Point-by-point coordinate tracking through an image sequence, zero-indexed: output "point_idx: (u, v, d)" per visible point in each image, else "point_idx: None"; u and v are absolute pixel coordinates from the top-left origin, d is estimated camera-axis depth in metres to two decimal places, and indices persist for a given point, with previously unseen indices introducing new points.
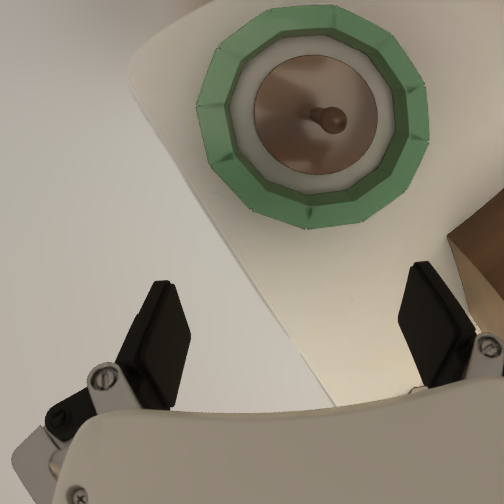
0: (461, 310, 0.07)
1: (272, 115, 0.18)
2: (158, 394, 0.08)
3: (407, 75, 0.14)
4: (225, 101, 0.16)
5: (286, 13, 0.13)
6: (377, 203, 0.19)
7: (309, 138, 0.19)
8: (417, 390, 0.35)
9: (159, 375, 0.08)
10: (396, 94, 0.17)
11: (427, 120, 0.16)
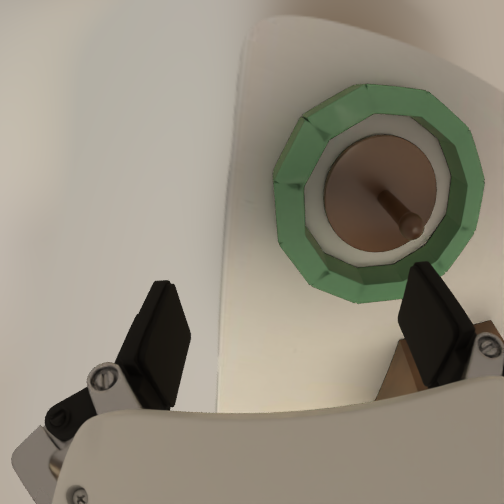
0: (461, 310, 0.07)
1: (352, 172, 0.18)
2: (158, 394, 0.08)
3: (470, 217, 0.17)
4: (333, 136, 0.15)
5: (435, 106, 0.13)
6: (378, 296, 0.21)
7: (364, 211, 0.19)
8: None
9: (159, 375, 0.08)
10: (447, 221, 0.19)
11: (456, 257, 0.19)
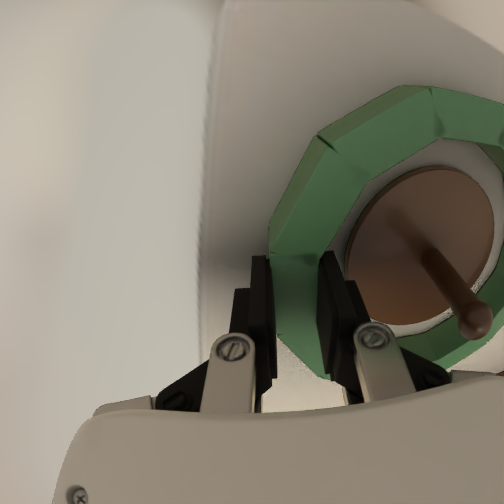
0: (347, 297, 0.08)
1: (390, 225, 0.11)
2: (270, 364, 0.09)
3: None
4: (374, 176, 0.09)
5: None
6: None
7: (400, 277, 0.13)
8: None
9: None
10: (498, 279, 0.12)
11: (502, 324, 0.12)
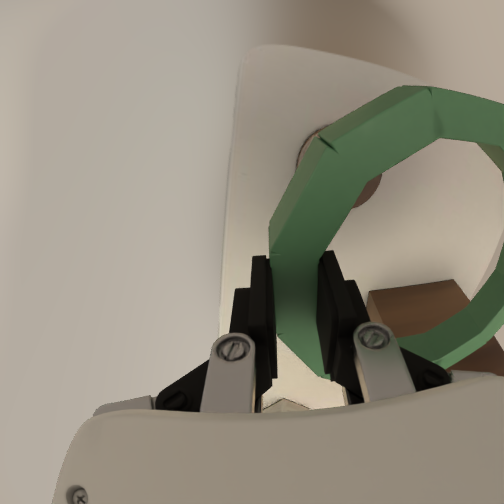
0: (347, 297, 0.08)
1: None
2: (270, 364, 0.09)
3: None
4: (374, 176, 0.09)
5: None
6: None
7: None
8: (286, 402, 0.48)
9: None
10: (497, 279, 0.13)
11: (502, 324, 0.12)
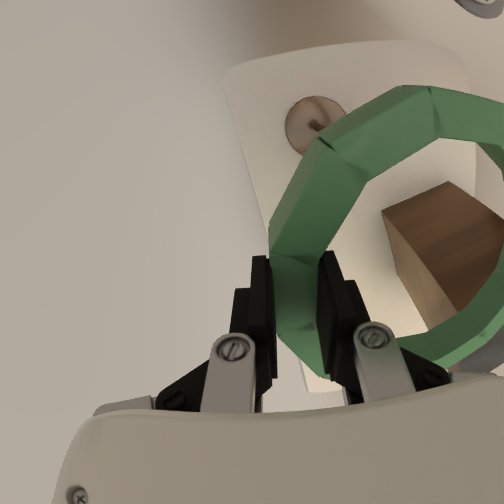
0: (347, 297, 0.08)
1: (295, 123, 0.36)
2: (270, 364, 0.09)
3: None
4: (374, 176, 0.09)
5: None
6: None
7: (311, 138, 0.37)
8: None
9: None
10: (498, 278, 0.12)
11: (503, 323, 0.12)
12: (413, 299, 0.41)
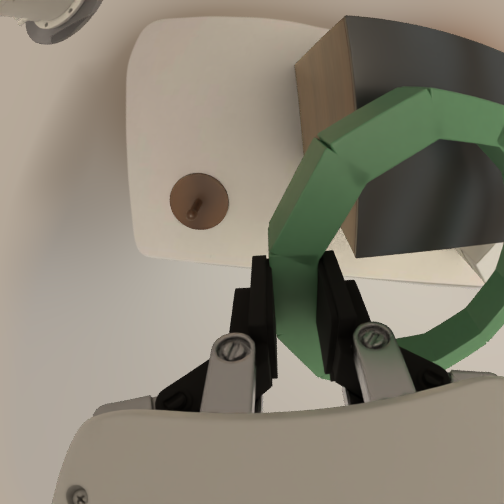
0: (347, 297, 0.08)
1: (189, 219, 0.44)
2: (270, 364, 0.09)
3: None
4: (373, 177, 0.09)
5: None
6: None
7: (206, 211, 0.43)
8: None
9: (275, 344, 0.09)
10: (497, 280, 0.13)
11: (502, 324, 0.12)
12: None
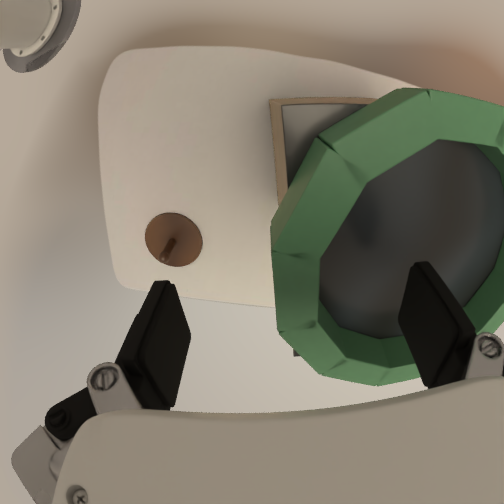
0: (461, 310, 0.07)
1: None
2: (158, 394, 0.08)
3: None
4: (373, 176, 0.09)
5: None
6: (404, 376, 0.15)
7: (180, 250, 0.43)
8: None
9: (159, 375, 0.08)
10: (496, 278, 0.13)
11: (501, 323, 0.12)
12: None
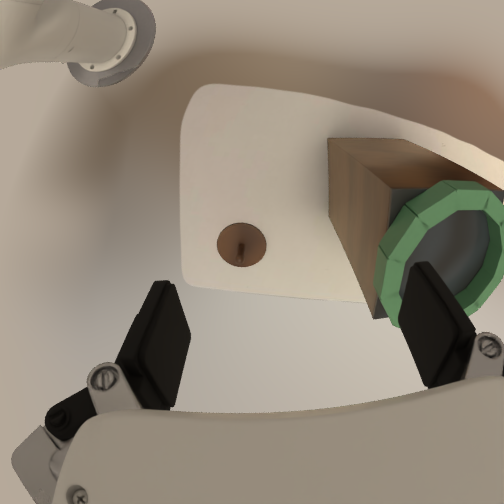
0: (461, 310, 0.07)
1: (233, 259, 0.55)
2: (158, 394, 0.08)
3: (500, 271, 0.21)
4: (430, 227, 0.20)
5: (493, 201, 0.18)
6: None
7: (247, 253, 0.54)
8: None
9: (159, 375, 0.08)
10: (483, 272, 0.24)
11: (487, 298, 0.23)
12: None
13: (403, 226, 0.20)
